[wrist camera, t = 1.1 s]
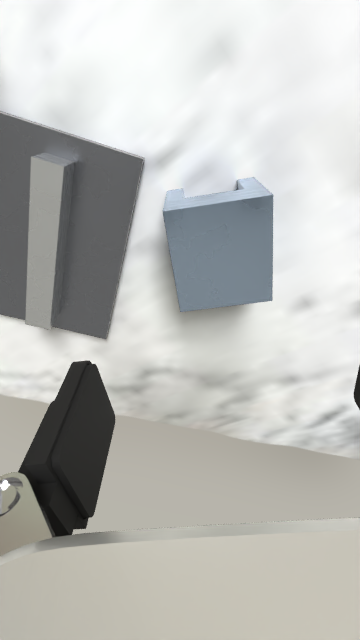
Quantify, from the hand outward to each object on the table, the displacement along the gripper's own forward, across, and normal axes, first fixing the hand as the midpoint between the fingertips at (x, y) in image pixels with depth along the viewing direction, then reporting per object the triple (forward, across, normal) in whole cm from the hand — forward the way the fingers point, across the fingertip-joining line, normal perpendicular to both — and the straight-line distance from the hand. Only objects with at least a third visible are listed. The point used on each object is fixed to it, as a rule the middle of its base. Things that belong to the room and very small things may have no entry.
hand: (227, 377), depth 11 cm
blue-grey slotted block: (+17, -1, 0) cm, 17 cm away
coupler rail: (+17, +12, -1) cm, 21 cm away
